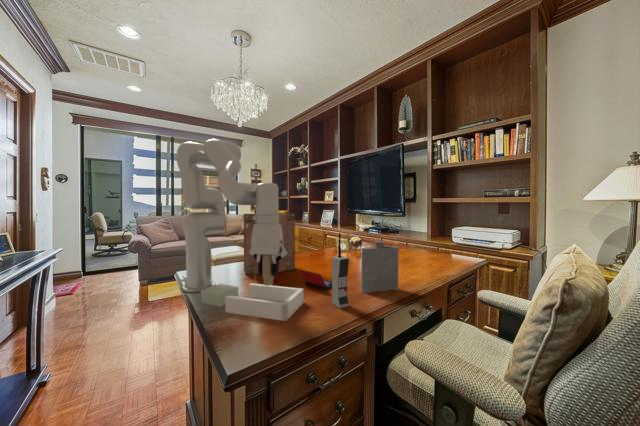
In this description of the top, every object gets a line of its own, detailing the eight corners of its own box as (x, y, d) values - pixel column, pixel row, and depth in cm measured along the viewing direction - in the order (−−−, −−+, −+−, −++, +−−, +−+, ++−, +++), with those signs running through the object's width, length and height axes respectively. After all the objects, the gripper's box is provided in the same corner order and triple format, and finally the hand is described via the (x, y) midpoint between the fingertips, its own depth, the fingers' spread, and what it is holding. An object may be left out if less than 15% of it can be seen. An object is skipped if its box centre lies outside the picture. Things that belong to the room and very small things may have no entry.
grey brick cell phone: (339, 309, 86) (339, 234, 85) (332, 303, 90) (332, 233, 89) (349, 306, 87) (349, 233, 86) (341, 301, 92) (341, 232, 91)
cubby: (225, 312, 83) (225, 297, 83) (251, 296, 98) (250, 283, 97) (285, 321, 77) (285, 304, 77) (303, 302, 91) (303, 288, 91)
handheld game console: (337, 286, 109) (337, 269, 109) (320, 293, 102) (320, 274, 101) (316, 280, 118) (316, 264, 118) (299, 286, 110) (299, 269, 110)
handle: (277, 286, 85) (277, 241, 84) (257, 287, 84) (257, 241, 83) (278, 281, 90) (277, 239, 89) (259, 282, 89) (258, 239, 88)
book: (244, 275, 126) (244, 214, 125) (243, 270, 135) (243, 213, 134) (295, 270, 135) (294, 213, 134) (291, 266, 144) (290, 213, 142)
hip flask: (363, 293, 100) (363, 242, 100) (359, 290, 104) (359, 241, 103) (399, 290, 104) (400, 241, 103) (394, 286, 108) (394, 239, 107)
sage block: (201, 303, 92) (201, 290, 92) (220, 295, 100) (220, 283, 100) (220, 307, 88) (219, 294, 88) (238, 298, 96) (238, 286, 96)
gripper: (239, 220, 85) (240, 275, 86) (285, 221, 80) (286, 279, 81) (251, 219, 92) (252, 269, 93) (294, 219, 87) (295, 273, 88)
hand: (268, 273), depth 87 cm, fingers closed on handle, 4 cm apart
